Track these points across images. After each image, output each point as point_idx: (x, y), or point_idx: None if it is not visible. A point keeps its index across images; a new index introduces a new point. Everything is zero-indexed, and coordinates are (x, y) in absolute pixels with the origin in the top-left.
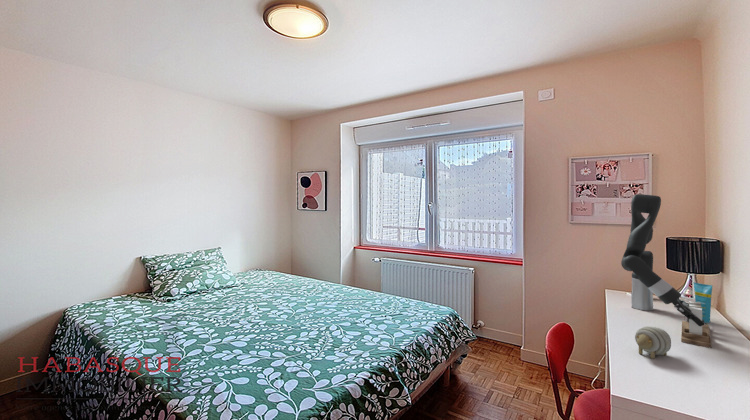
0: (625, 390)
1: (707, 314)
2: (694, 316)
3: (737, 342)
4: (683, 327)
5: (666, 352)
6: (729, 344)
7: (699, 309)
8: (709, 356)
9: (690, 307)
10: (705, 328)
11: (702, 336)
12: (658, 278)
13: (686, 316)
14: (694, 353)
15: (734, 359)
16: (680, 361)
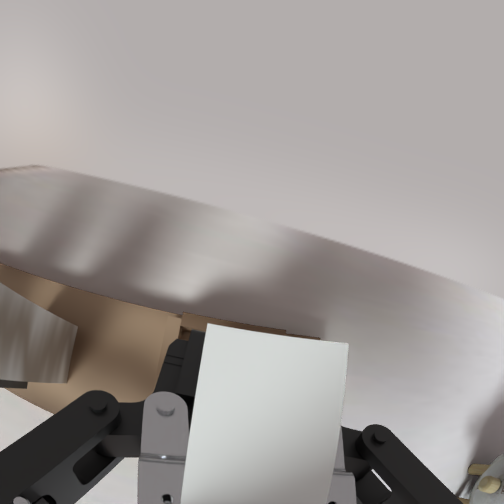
0: None
1: None
2: (376, 428)
3: (142, 205)
4: (53, 405)
5: (480, 464)
6: (194, 246)
7: (325, 377)
8: (421, 359)
9: (249, 496)
10: (22, 286)
11: None
12: None
13: (380, 486)
14: (421, 405)
15: (397, 283)
16: (489, 425)
